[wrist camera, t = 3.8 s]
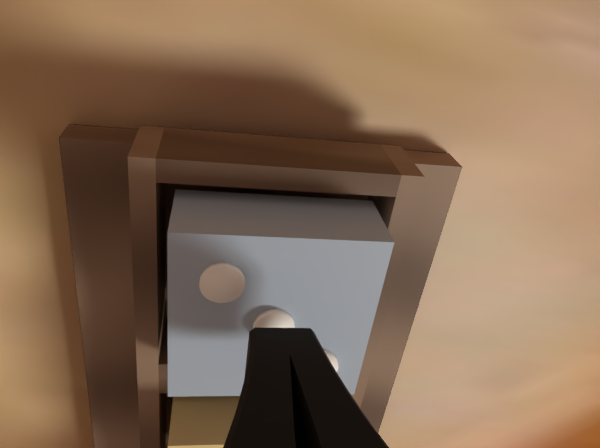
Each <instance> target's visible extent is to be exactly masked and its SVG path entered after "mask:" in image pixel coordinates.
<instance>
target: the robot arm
mask: <svg viewBox="0 0 600 448" xmlns="http://www.w3.org/2000/svg"><path fill="white" fill-rule="evenodd" d="M223 448H389V447H388V446H387V445H386V443H385V442H384V441H383V439H382V438H381V437H380V435H379V434H378V433H377V431H376V430H375V429H374V427H373V426H372V425H371V423H370V422H369V420H368V419H367V418H366V416H365V415H364V413H363V412H362V410H361V409H360V407H359V406H358V404H357V403H356V401H355V400H354V398H353V397H352V395H351V394H350V392H349V391H348V389H347V388H346V386H345V385H344V383H343V382H342V380H341V378H340V377H339V375H338V374H337V372H336V370H335V369H334V367H333V365H332V364H331V362H330V360H329V358H328V357H327V355H326V353H325V351H324V350H323V348H322V346H321V344H320V342H319V340H318V338H317V337H316V335H315V333H314V331H313V330H312V329H311V328H260V327H255V328H254V329H252V330H251V331H249V340H248V349H247V359H246V368H245V378H244V383H243V387H242V391H241V394H240V398H239V402H238V406H237V409H236V412H235V415H234V418H233V421H232V424H231V427H230V430H229V432H228V435H227V438H226V441H225V444H224V447H223Z"/></svg>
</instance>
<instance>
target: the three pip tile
mask: <svg viewBox="0 0 600 448" xmlns="http://www.w3.org/2000/svg"><path fill="white" fill-rule="evenodd" d="M393 246H394V241H393V239H392V237H391V235H390V233H389V231H388V229H387V227H386V225H385V223H384V222H383V220H382V218H381V216H380V214H379V212H378V210H377V208H376V206H375V204H374V203H373V201H368V200H351V199H334V198H317V197H299V196H282V195H265V194H248V193H230V192H213V191H196V190H179V189H175V195H174V200H173V205H172V211H171V216H170V221H169V227H168V232H167V279H168V397H188V396H240V394H241V391H242V387H243V383H244V378H245V368H246V359H247V349H248V340H249V331H251V330H252V329H254V328H255V327H260V328H311V329H312V330H313V331H314V333H315V335H316V337H317V338H318V340H319V342H320V344H321V346H322V348H323V350H324V351H325V353H326V355H327V357H328V358H329V360H330V362H331V364H332V365H333V367H334V369H335V370H336V372H337V374H338V375H339V377H340V378H341V380H342V382H343V383H344V385H345V386H346V388H347V389H348V391H349V392H350V394H351V395H354V393H355V389H356V386H357V382H358V378H359V374H360V371H361V367H362V363H363V359H364V355H365V352H366V348H367V344H368V340H369V337H370V333H371V329H372V325H373V321H374V318H375V314H376V310H377V306H378V303H379V299H380V295H381V291H382V287H383V284H384V280H385V276H386V272H387V269H388V265H389V261H390V257H391V253H392V250H393Z"/></svg>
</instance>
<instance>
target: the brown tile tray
mask: <svg viewBox="0 0 600 448" xmlns="http://www.w3.org/2000/svg"><path fill="white" fill-rule="evenodd" d="M59 142H60V151H61V160H62V168H63V177H64V186H65V195H66V203H67V212H68V221H69V229H70V238H71V247H72V256H73V264H74V273H75V282H76V291H77V299H78V308H79V317H80V325H81V334H82V343H83V352H84V360H85V369H86V378H87V386H88V395H89V404H90V413H91V421H92V430H93V439H94V448H168V439H169V430H170V421H171V412H172V403H173V397H168V279H167V232H168V227H169V221H170V216H171V211H172V205H173V200H174V195H175V189H179V190H196V191H213V192H230V193H248V194H265V195H282V196H299V197H317V198H334V199H351V200H368V201H373V203H374V204H375V206H376V208H377V210H378V212H379V214H380V216H381V218H382V220H383V222H384V223H385V225H386V227H387V229H388V231H389V233H390V235H391V237H392V239H393V241H394V246H393V250H392V253H391V257H390V261H389V265H388V269H387V272H386V276H385V280H384V284H383V287H382V291H381V295H380V299H379V303H378V306H377V310H376V314H375V318H374V321H373V325H372V329H371V333H370V337H369V340H368V344H367V348H366V352H365V355H364V359H363V363H362V367H361V371H360V374H359V378H358V382H357V386H356V389H355V393H354V395H352V397H353V398H354V400H355V401H356V403H357V404H358V406H359V407H360V409H361V410H362V412H363V413H364V415H365V416H366V418H367V419H368V420H369V422H370V423H371V425H372V426H373V427H374V429H375V430H376V431H377V433H378V431H379V428H380V425H381V422H382V419H383V416H384V412H385V409H386V406H387V403H388V400H389V397H390V393H391V390H392V387H393V384H394V381H395V378H396V374H397V371H398V368H399V365H400V362H401V359H402V355H403V352H404V349H405V346H406V343H407V340H408V336H409V333H410V330H411V327H412V324H413V321H414V317H415V314H416V311H417V308H418V305H419V302H420V298H421V295H422V292H423V289H424V286H425V283H426V279H427V276H428V273H429V270H430V267H431V264H432V260H433V257H434V254H435V251H436V248H437V245H438V242H439V238H440V235H441V232H442V229H443V226H444V223H445V219H446V216H447V213H448V210H449V207H450V204H451V200H452V197H453V194H454V191H455V188H456V185H457V181H458V178H459V175H460V172H461V169H462V166H461V165H460V164H459V163H458V162H457V161H456V160H455V159H454V158H453V157H452V156H451V155H450V154H449V153H436V152H423V151H410V150H404V149H403V148H402V147H401V146H397V145H384V144H371V143H358V142H346V141H333V140H320V139H307V138H295V137H282V136H269V135H256V134H244V133H231V132H218V131H205V130H193V129H180V128H167V127H154V126H142V125H140V128H139V130H137V129H124V128H111V127H98V126H85V125H72V124H69V125H68V127H67V128H66V129H65V131H64V132H63V133H62V135H61V136H60V137H59Z"/></svg>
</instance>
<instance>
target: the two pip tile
mask: <svg viewBox="0 0 600 448" xmlns="http://www.w3.org/2000/svg"><path fill="white" fill-rule="evenodd" d="M239 398H240V396H188V397H173V403H172V412H171V421H170V430H169V439H168V448H223V447H224V444H225V441H226V438H227V435H228V432H229V430H230V427H231V424H232V421H233V418H234V415H235V412H236V409H237V406H238V402H239Z"/></svg>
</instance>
